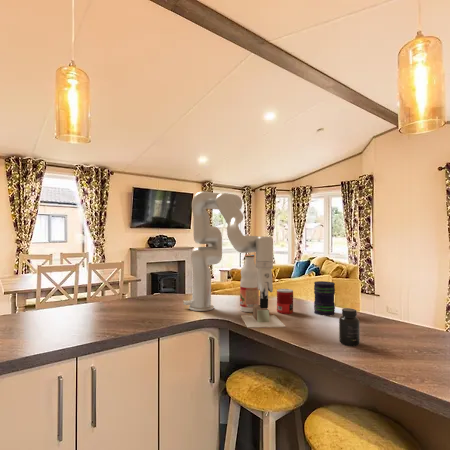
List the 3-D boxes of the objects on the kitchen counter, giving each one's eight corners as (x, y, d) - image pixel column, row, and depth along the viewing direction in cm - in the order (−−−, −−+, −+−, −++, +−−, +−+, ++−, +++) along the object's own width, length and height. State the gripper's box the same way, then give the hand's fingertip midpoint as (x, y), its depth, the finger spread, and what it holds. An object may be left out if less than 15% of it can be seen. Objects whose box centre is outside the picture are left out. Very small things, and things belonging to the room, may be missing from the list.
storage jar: (327, 316, 150) (327, 284, 151) (309, 312, 158) (310, 282, 158) (338, 313, 157) (338, 283, 157) (321, 309, 164) (321, 280, 165)
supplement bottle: (335, 340, 117) (335, 307, 117) (353, 340, 117) (353, 307, 118) (344, 347, 110) (344, 311, 110) (363, 346, 111) (363, 311, 111)
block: (257, 310, 138) (253, 305, 149) (257, 322, 138) (252, 315, 149) (269, 310, 139) (263, 304, 150) (268, 322, 139) (263, 315, 150)
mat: (247, 327, 131) (247, 326, 131) (241, 316, 149) (241, 315, 149) (285, 327, 133) (285, 326, 133) (274, 316, 151) (274, 315, 151)
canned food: (293, 314, 154) (293, 291, 154) (276, 313, 156) (276, 290, 156) (293, 311, 161) (293, 289, 162) (277, 310, 163) (277, 288, 163)
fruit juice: (254, 313, 155) (255, 255, 156) (236, 311, 160) (237, 255, 160) (261, 309, 164) (261, 254, 165) (244, 307, 168) (244, 254, 169)
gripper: (277, 266, 131) (276, 311, 131) (268, 263, 146) (268, 303, 146) (259, 266, 130) (258, 312, 130) (252, 263, 145) (252, 304, 145)
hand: (263, 307), depth 138 cm, fingers closed
